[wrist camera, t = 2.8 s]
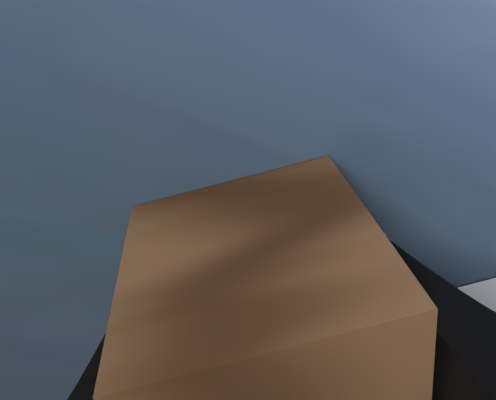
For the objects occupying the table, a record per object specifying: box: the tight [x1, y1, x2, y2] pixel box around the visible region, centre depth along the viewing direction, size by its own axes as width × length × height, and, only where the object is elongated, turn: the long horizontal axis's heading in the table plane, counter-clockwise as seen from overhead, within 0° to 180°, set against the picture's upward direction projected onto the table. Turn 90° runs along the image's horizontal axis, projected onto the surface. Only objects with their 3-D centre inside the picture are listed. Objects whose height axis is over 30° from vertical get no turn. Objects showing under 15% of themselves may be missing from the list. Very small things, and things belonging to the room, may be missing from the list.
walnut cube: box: [93, 155, 438, 400], centre depth 9 cm, size 5×5×5 cm
